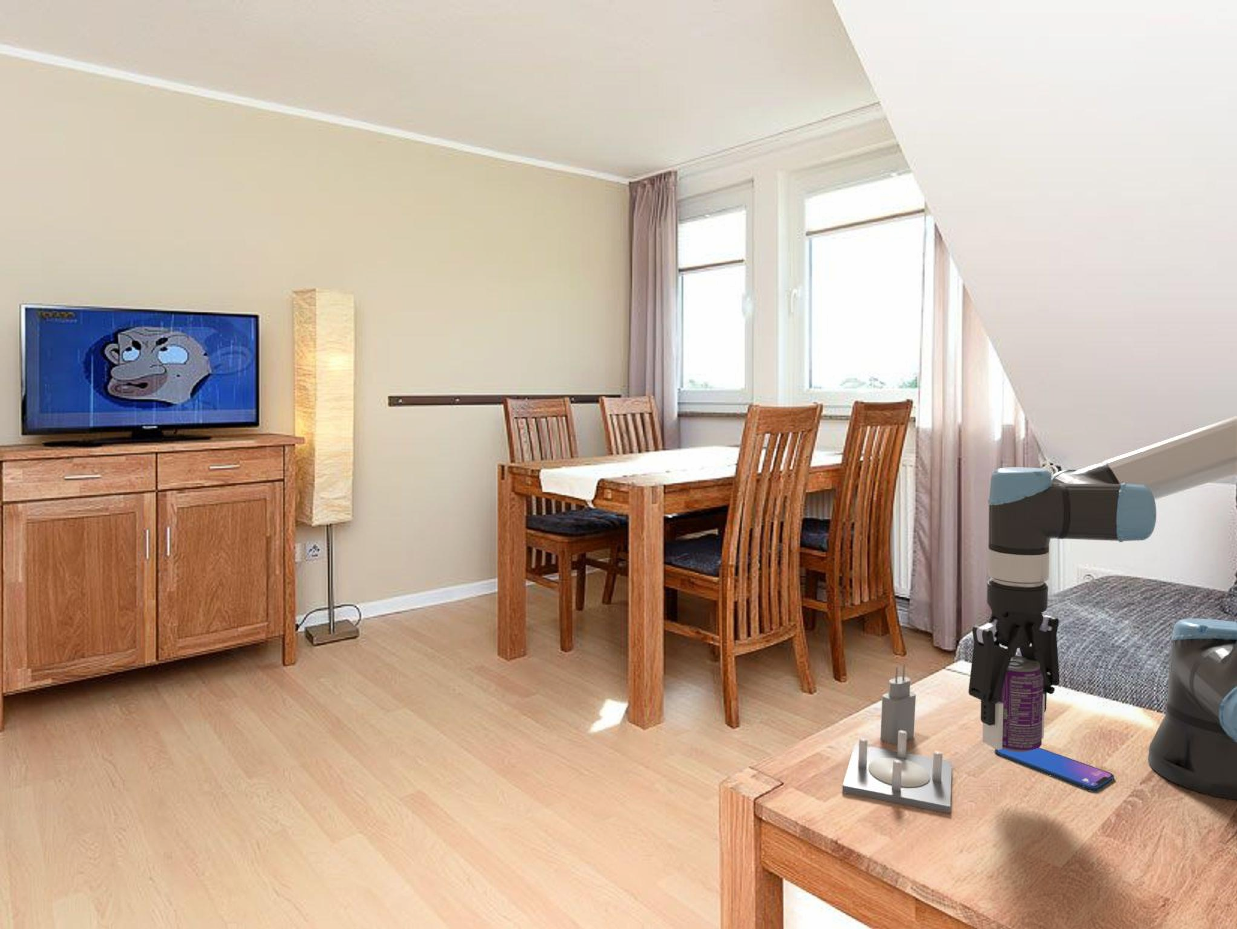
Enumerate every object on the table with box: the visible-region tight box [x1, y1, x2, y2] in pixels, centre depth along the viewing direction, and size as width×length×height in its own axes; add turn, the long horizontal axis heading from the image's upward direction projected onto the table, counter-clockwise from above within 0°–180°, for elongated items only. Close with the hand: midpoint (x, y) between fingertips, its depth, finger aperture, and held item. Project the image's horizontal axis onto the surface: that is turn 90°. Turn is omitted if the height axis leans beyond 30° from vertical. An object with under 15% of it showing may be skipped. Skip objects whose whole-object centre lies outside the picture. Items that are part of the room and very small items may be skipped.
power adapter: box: [880, 664, 917, 745], centre depth 130 cm, size 3×5×12 cm, turn 125°
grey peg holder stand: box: [841, 730, 953, 814], centre depth 117 cm, size 14×14×5 cm
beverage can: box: [990, 654, 1043, 752], centre depth 113 cm, size 7×7×12 cm
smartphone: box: [994, 747, 1115, 792], centre depth 122 cm, size 7×1×15 cm
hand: (1013, 739), depth 113 cm, fingers closed on beverage can, 7 cm apart
